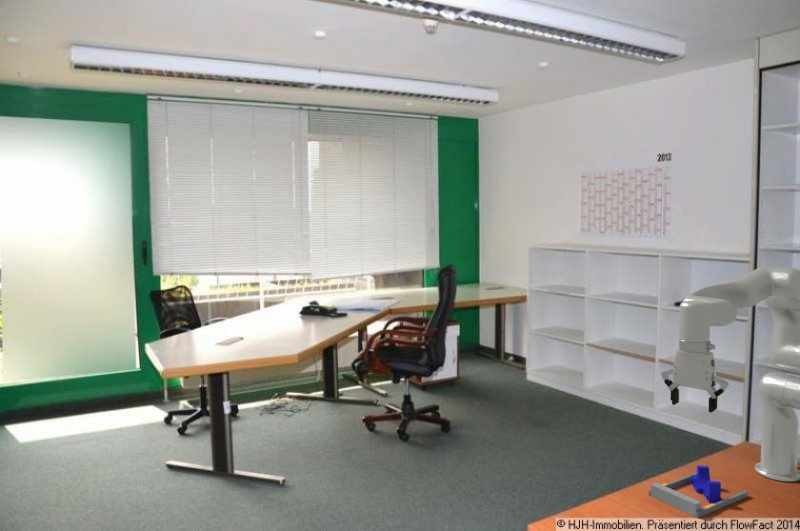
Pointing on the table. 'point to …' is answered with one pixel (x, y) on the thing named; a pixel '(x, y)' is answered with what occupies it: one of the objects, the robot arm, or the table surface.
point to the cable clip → (706, 485)
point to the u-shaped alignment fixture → (689, 498)
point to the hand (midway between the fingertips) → (693, 407)
